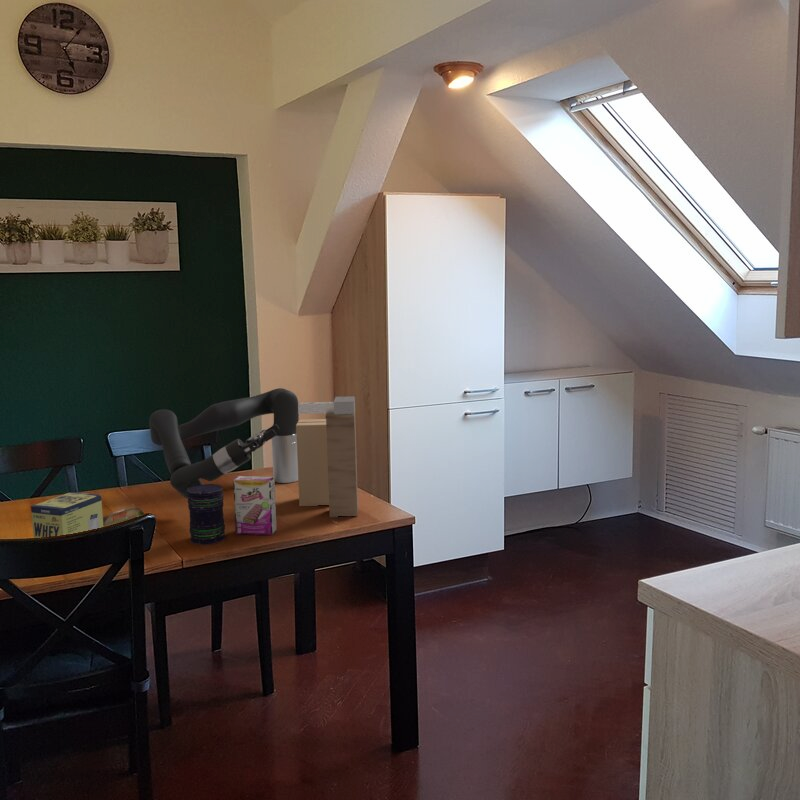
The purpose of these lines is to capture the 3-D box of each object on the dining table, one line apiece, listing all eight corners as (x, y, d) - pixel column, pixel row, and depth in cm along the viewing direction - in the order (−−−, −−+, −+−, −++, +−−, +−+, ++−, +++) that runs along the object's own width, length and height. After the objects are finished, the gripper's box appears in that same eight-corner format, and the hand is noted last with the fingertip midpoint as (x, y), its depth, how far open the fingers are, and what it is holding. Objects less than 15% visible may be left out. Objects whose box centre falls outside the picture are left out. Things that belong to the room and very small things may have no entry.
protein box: (34, 562, 222) (29, 505, 220) (77, 544, 237) (72, 490, 234) (65, 566, 219) (60, 509, 216) (106, 547, 233) (102, 493, 230)
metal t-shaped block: (300, 410, 260) (299, 397, 260) (355, 408, 260) (354, 396, 260) (297, 416, 250) (296, 402, 250) (354, 414, 251) (353, 401, 250)
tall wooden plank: (331, 508, 266) (328, 409, 261) (358, 507, 267) (355, 408, 261) (329, 519, 255) (325, 415, 249) (357, 518, 255) (354, 415, 250)
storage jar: (193, 534, 243) (190, 484, 240) (227, 533, 243) (224, 483, 241) (187, 546, 233) (184, 494, 230) (223, 544, 234) (220, 492, 231)
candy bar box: (235, 535, 241) (232, 479, 239) (240, 529, 246) (237, 475, 244) (273, 535, 240) (270, 480, 238) (277, 530, 245) (274, 475, 243)
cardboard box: (302, 497, 279) (299, 419, 275) (338, 496, 279) (335, 418, 275) (299, 506, 269) (296, 425, 265) (336, 505, 269) (333, 424, 265)
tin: (105, 547, 234) (102, 518, 232) (97, 545, 235) (95, 516, 234) (147, 532, 246) (145, 504, 245) (139, 530, 248) (137, 503, 246)
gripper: (242, 461, 264) (285, 435, 263) (234, 472, 250) (280, 444, 249) (229, 441, 263) (272, 415, 262) (220, 451, 249) (266, 423, 248)
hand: (276, 429), depth 256 cm, fingers open, 8 cm apart
